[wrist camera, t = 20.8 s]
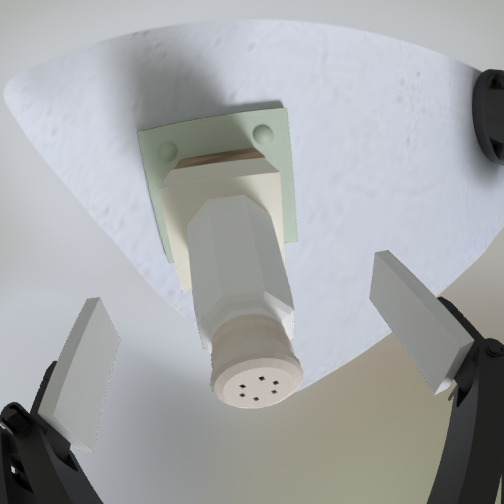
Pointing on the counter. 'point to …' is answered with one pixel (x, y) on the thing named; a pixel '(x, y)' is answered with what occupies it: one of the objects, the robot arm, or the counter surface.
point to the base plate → (215, 141)
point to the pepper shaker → (242, 302)
